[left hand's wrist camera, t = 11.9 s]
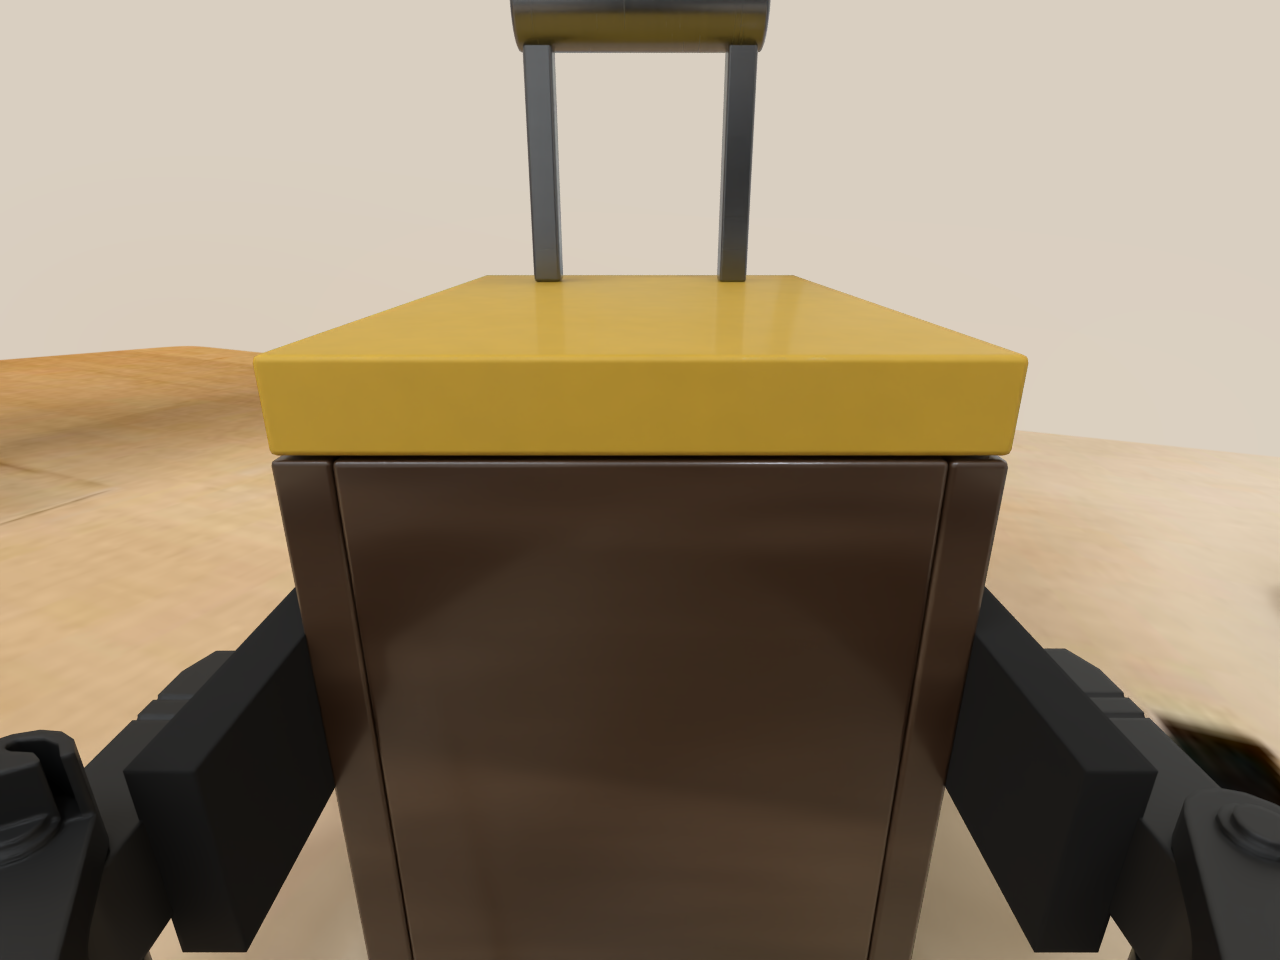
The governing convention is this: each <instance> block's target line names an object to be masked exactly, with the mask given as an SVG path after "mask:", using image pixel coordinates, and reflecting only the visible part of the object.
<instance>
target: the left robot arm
mask: <svg viewBox="0 0 1280 960" xmlns="http://www.w3.org/2000/svg"><path fill="white" fill-rule="evenodd" d="M945 787H946V789H947V791H948V793H949V794H950V796H951V798H952V800H953V802H954V804H955V806H956V807H957V809H958V811H959V813H960V815H961V817H962V819H963V820H964V822H965V824H966V826H967V828H968V830H969V832H970V834H971V835H972V837H973V839H974V841H975V843H976V845H977V847H978V848H979V850H980V852H981V854H982V856H983V858H984V860H985V861H986V863H987V865H988V867H989V869H990V871H991V873H992V874H993V876H994V878H995V880H996V882H997V884H998V886H999V888H1000V889H1001V891H1002V893H1003V895H1004V897H1005V899H1006V901H1007V902H1008V904H1009V906H1010V908H1011V910H1012V912H1013V914H1014V915H1015V917H1016V919H1017V921H1018V923H1019V925H1020V927H1021V928H1022V930H1023V932H1024V934H1025V936H1026V938H1027V940H1028V941H1029V943H1030V945H1031V947H1032V949H1033V951H1034V952H1098V951H1099V948H1100V945H1101V942H1102V939H1103V936H1104V933H1105V930H1106V927H1107V924H1108V921H1109V918H1110V915H1111V917H1112V918H1113V920H1114V921H1115V923H1116V924H1117V926H1118V927H1119V929H1120V930H1121V931H1122V933H1123V934H1124V936H1125V937H1126V939H1127V940H1128V942H1129V943H1130V945H1131V946H1132V949H1131V952H1130V955H1129V958H1128V960H1280V807H1279V806H1278V805H1276V804H1274V803H1271V802H1268V801H1266V800H1263V799H1260V798H1258V797H1255V796H1253V795H1250V794H1247V793H1244V792H1239V791H1233V790H1228V789H1223V788H1220V787H1219V786H1218V785H1217V784H1216V783H1215V782H1214V781H1213V780H1212V779H1211V778H1210V777H1209V776H1208V775H1207V774H1206V773H1205V772H1204V771H1203V770H1202V769H1201V768H1200V767H1199V766H1198V765H1197V764H1196V763H1195V762H1194V761H1193V760H1192V759H1191V758H1190V757H1189V756H1188V755H1187V754H1186V753H1185V752H1184V751H1183V750H1182V749H1181V748H1179V747H1178V746H1177V745H1176V744H1175V743H1174V742H1173V741H1172V740H1171V739H1170V738H1169V737H1168V736H1167V735H1166V734H1165V733H1164V732H1163V731H1162V730H1161V729H1160V728H1159V727H1158V726H1157V725H1156V724H1155V723H1154V722H1153V721H1152V720H1151V719H1150V718H1145V717H1144V712H1143V711H1142V710H1141V709H1140V708H1139V707H1138V706H1137V705H1136V704H1135V703H1134V702H1133V701H1132V700H1130V699H1129V698H1125V697H1124V693H1123V692H1122V691H1121V690H1120V689H1119V688H1118V687H1117V686H1116V685H1115V684H1114V683H1113V682H1112V681H1111V680H1110V679H1109V678H1108V677H1107V676H1106V675H1105V674H1104V673H1103V672H1102V671H1101V670H1100V669H1099V668H1097V667H1095V666H1093V665H1092V664H1090V663H1088V662H1087V661H1085V660H1083V659H1082V658H1080V657H1078V656H1077V655H1075V654H1073V653H1072V652H1070V651H1068V650H1067V649H1043V648H1042V647H1041V646H1040V644H1039V643H1038V642H1037V641H1036V640H1035V639H1034V638H1033V637H1032V636H1031V635H1030V634H1029V633H1028V632H1027V631H1026V630H1025V629H1024V627H1023V626H1022V625H1021V624H1020V623H1019V622H1018V621H1017V620H1016V619H1015V618H1014V617H1013V616H1012V615H1011V614H1010V613H1009V611H1008V610H1007V609H1006V608H1005V607H1004V606H1003V605H1002V604H1001V603H1000V602H999V601H998V600H997V599H996V598H995V597H994V595H993V594H992V593H991V592H990V591H989V590H988V589H987V588H986V587H985V586H984V591H983V597H982V602H981V607H980V612H979V617H978V622H977V627H976V632H975V637H974V642H973V647H972V652H971V657H970V662H969V667H968V673H967V678H966V683H965V688H964V693H963V698H962V703H961V708H960V713H959V718H958V723H957V729H956V734H955V739H954V744H953V749H952V754H951V759H950V764H949V769H948V774H947V779H946V785H945ZM334 788H335V784H334V779H333V773H332V768H331V763H330V758H329V753H328V748H327V743H326V738H325V733H324V728H323V723H322V717H321V712H320V707H319V702H318V697H317V692H316V687H315V682H314V677H313V672H312V667H311V661H310V656H309V651H308V646H307V641H306V636H305V633H304V628H303V623H302V618H301V612H300V607H299V602H298V597H297V592H296V587H295V588H294V589H293V590H292V591H291V592H290V593H289V594H288V595H287V596H286V597H285V598H284V600H283V601H282V602H281V603H280V604H279V605H278V606H277V607H276V608H275V609H274V610H273V611H272V612H271V613H270V614H269V616H268V617H267V618H266V619H265V620H264V621H263V622H262V623H261V624H260V625H259V626H258V627H257V628H256V629H255V630H254V632H253V633H252V634H251V635H250V636H249V637H248V638H247V639H246V640H245V641H244V642H243V643H242V644H241V645H240V646H239V648H238V649H237V650H236V651H215V652H214V653H212V654H210V655H209V656H207V657H205V658H204V659H202V660H200V661H198V662H197V663H195V664H193V665H192V666H190V667H188V668H187V669H185V670H183V671H182V672H181V673H180V674H179V675H178V676H177V677H176V678H175V679H174V680H173V681H172V682H171V683H170V684H169V685H168V686H167V687H166V688H165V689H164V690H163V691H162V692H161V693H160V694H159V695H158V699H157V700H153V701H152V702H151V703H150V704H149V705H147V706H146V707H145V708H144V709H143V710H142V711H141V712H140V713H139V714H138V718H137V720H132V721H131V722H130V723H129V724H128V725H127V726H126V727H125V728H124V729H123V730H122V731H121V732H120V733H119V734H118V735H117V736H116V737H115V738H114V739H113V740H112V741H111V742H110V743H109V744H108V745H107V746H106V747H105V748H104V749H103V750H102V751H101V752H100V753H99V754H98V755H97V756H96V757H95V758H94V759H93V760H92V761H91V762H90V763H89V764H88V765H87V766H86V767H85V768H84V767H83V764H82V761H81V758H80V755H79V753H78V750H77V747H76V744H75V741H74V739H72V738H71V737H69V736H68V735H66V734H65V733H63V732H62V731H49V730H36V731H30V732H24V733H18V734H12V735H9V736H6V737H3V738H0V960H152V958H151V955H150V952H149V950H150V948H151V947H152V945H153V944H154V942H155V941H156V940H157V938H158V937H159V935H160V934H161V932H162V931H163V929H164V928H165V926H166V925H167V923H168V922H169V920H170V919H171V918H172V921H173V924H174V927H175V930H176V933H177V937H178V940H179V943H180V946H181V949H182V952H247V950H248V949H249V947H250V945H251V943H252V941H253V939H254V937H255V936H256V934H257V932H258V930H259V928H260V926H261V924H262V922H263V921H264V919H265V917H266V915H267V913H268V911H269V909H270V908H271V906H272V904H273V902H274V900H275V898H276V896H277V895H278V893H279V891H280V889H281V887H282V885H283V883H284V881H285V880H286V878H287V876H288V874H289V872H290V870H291V868H292V867H293V865H294V863H295V861H296V859H297V857H298V855H299V854H300V852H301V850H302V848H303V846H304V844H305V842H306V841H307V839H308V837H309V835H310V833H311V831H312V829H313V827H314V826H315V824H316V822H317V820H318V818H319V816H320V814H321V813H322V811H323V809H324V807H325V805H326V803H327V801H328V800H329V798H330V796H331V794H332V792H333V790H334Z"/></svg>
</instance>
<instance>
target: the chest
mask: <svg viewBox="0 0 1280 960" xmlns="http://www.w3.org/2000/svg"><path fill="white" fill-rule="evenodd" d="M1007 469H1008V466H1007V462H1006V461H1005V460H1003V459H1002V458H1000V457H999V456H997V455H282V456H280V457H279V458H277V459H276V460H274V461H273V462H272V470H273V475H274V480H275V485H276V490H277V495H278V500H279V506H280V511H281V516H282V521H283V526H284V531H285V536H286V541H287V546H288V551H289V556H290V562H291V567H292V572H293V577H294V582H295V587H296V592H297V597H298V602H299V607H300V612H301V618H302V623H303V628H304V633H305V636H306V641H307V646H308V651H309V656H310V661H311V667H312V672H313V677H314V682H315V687H316V692H317V697H318V702H319V707H320V712H321V717H322V723H323V728H324V733H325V738H326V743H327V748H328V753H329V758H330V763H331V768H332V773H333V779H334V784H335V791H336V796H337V801H338V806H339V811H340V816H341V821H342V826H343V831H344V836H345V841H346V847H347V852H348V857H349V862H350V867H351V872H352V877H353V882H354V887H355V892H356V897H357V903H358V908H359V913H360V918H361V923H362V928H363V933H364V938H365V943H366V948H367V953H368V959H369V960H911V958H912V953H913V947H914V942H915V937H916V932H917V927H918V922H919V917H920V912H921V907H922V902H923V897H924V892H925V886H926V881H927V876H928V871H929V866H930V861H931V856H932V851H933V846H934V841H935V836H936V830H937V825H938V820H939V815H940V810H941V805H942V800H943V795H944V790H945V785H946V779H947V774H948V769H949V764H950V759H951V754H952V749H953V744H954V739H955V734H956V729H957V723H958V718H959V713H960V708H961V703H962V698H963V693H964V688H965V683H966V678H967V673H968V667H969V662H970V657H971V652H972V647H973V642H974V637H975V632H976V627H977V622H978V617H979V612H980V607H981V602H982V597H983V591H984V586H985V581H986V576H987V571H988V566H989V561H990V556H991V551H992V546H993V541H994V535H995V530H996V525H997V520H998V515H999V510H1000V505H1001V500H1002V495H1003V490H1004V485H1005V480H1006V474H1007Z"/></svg>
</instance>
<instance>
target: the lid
mask: <svg viewBox="0 0 1280 960" xmlns="http://www.w3.org/2000/svg"><path fill="white" fill-rule="evenodd" d="M510 7H511V17H512V24H513V31H514V36H515V40H516V44H517V46H518V49H519V51H521V52H523V63H524V83H525V103H526V122H527V142H528V161H529V181H530V201H531V220H532V240H533V260H534V275H487V276H484V277H481V278H478V279H475V280H472V281H469V282H467V283H464V284H461V285H458V286H455V287H452V288H449V289H446V290H443V291H441V292H438V293H435V294H432V295H429V296H426V297H423V298H420V299H418V300H415V301H412V302H409V303H406V304H403V305H400V306H397V307H394V308H391V309H389V310H386V311H383V312H380V313H377V314H374V315H371V316H368V317H366V318H363V319H360V320H357V321H354V322H351V323H348V324H346V325H342V326H340V327H337V328H334V329H331V330H328V331H325V332H322V333H319V334H317V335H314V336H311V337H308V338H305V339H302V340H299V341H296V342H293V343H291V344H288V345H285V346H282V347H279V348H276V349H273V350H270V351H268V352H265V353H262V354H259V355H257V356H255V357H254V359H253V366H254V371H255V376H256V382H257V387H258V392H259V397H260V402H261V407H262V412H263V417H264V423H265V428H266V433H267V438H268V443H269V448H270V451H271V453H272V454H274V455H1007V454H1009V453H1010V451H1011V449H1012V444H1013V439H1014V433H1015V428H1016V423H1017V418H1018V413H1019V408H1020V403H1021V398H1022V393H1023V387H1024V382H1025V377H1026V372H1027V367H1028V359H1027V357H1026V356H1024V355H1022V354H1019V353H1016V352H1013V351H1011V350H1008V349H1005V348H1002V347H999V346H996V345H993V344H990V343H988V342H985V341H982V340H979V339H976V338H973V337H970V336H967V335H964V334H961V333H959V332H956V331H953V330H950V329H947V328H944V327H941V326H938V325H935V324H932V323H930V322H927V321H924V320H921V319H918V318H915V317H912V316H909V315H906V314H904V313H901V312H898V311H895V310H892V309H889V308H886V307H883V306H880V305H877V304H875V303H872V302H869V301H866V300H863V299H860V298H857V297H854V296H851V295H848V294H846V293H843V292H840V291H837V290H834V289H831V288H828V287H825V286H822V285H820V284H817V283H814V282H811V281H808V280H805V279H802V278H799V277H796V276H793V275H746V268H747V249H748V229H749V209H750V190H751V171H752V151H753V132H754V112H755V93H756V73H757V54H758V52H760V51H761V50H762V47H763V45H764V42H765V37H766V32H767V27H768V20H769V11H770V0H510ZM555 53H726V56H725V82H724V109H723V136H722V163H721V190H720V216H719V243H718V269H717V275H563V265H562V239H561V212H560V185H559V158H558V131H557V104H556V77H555Z"/></svg>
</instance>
